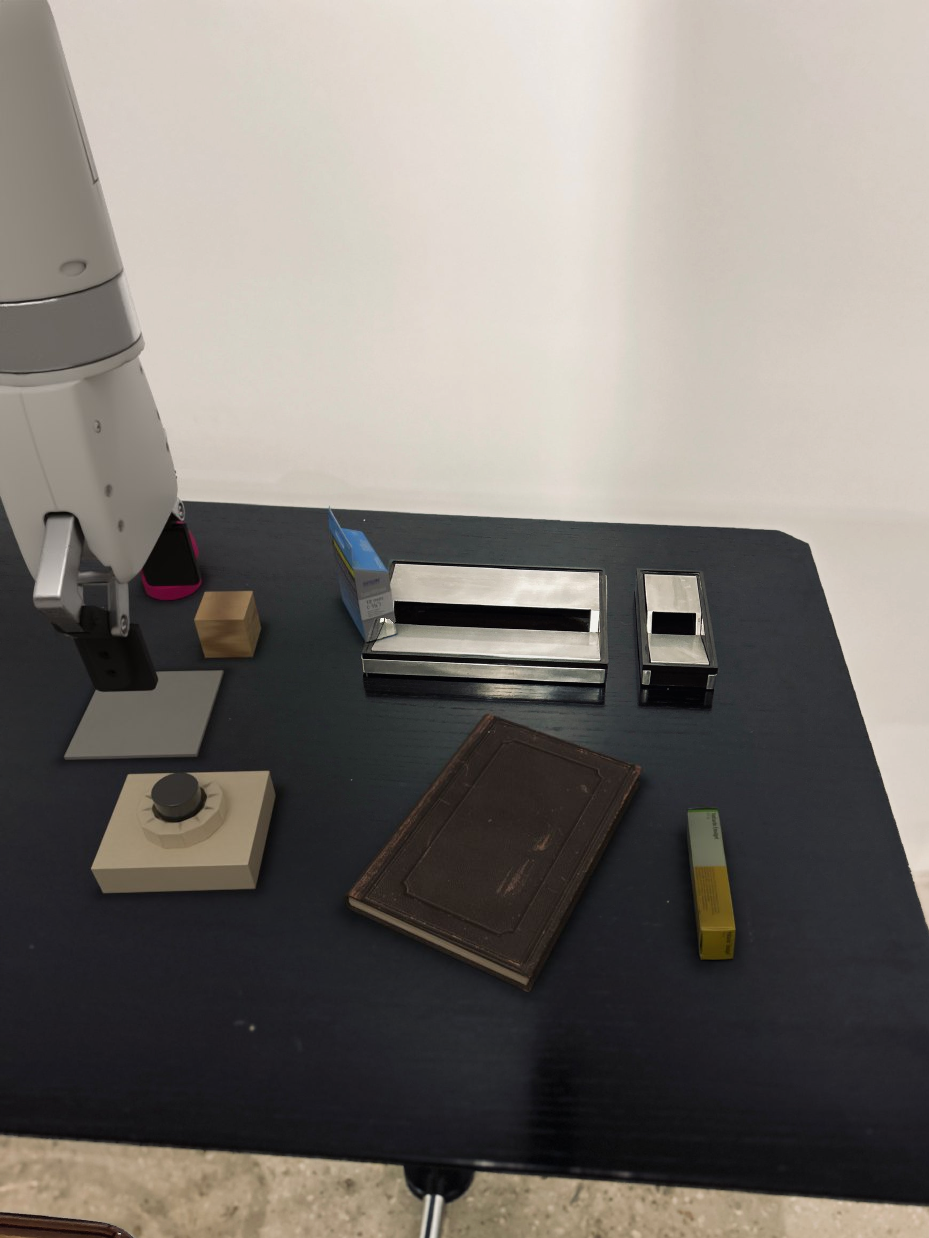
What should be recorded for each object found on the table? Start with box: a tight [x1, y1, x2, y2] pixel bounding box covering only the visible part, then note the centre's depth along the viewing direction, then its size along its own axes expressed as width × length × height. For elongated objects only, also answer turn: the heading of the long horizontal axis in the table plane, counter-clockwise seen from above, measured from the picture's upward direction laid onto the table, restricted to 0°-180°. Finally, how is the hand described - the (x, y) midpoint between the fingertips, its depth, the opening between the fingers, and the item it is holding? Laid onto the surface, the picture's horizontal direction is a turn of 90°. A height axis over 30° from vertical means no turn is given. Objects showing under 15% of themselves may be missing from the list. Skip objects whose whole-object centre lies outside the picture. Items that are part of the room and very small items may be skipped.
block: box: [193, 590, 262, 659], centre depth 92 cm, size 5×5×5 cm
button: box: [151, 772, 204, 823], centre depth 70 cm, size 4×4×2 cm
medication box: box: [686, 806, 736, 961], centre depth 69 cm, size 12×3×4 cm, turn 177°
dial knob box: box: [90, 770, 277, 894], centre depth 72 cm, size 12×10×5 cm
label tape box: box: [328, 505, 396, 643], centre depth 93 cm, size 9×4×12 cm, turn 25°
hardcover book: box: [344, 713, 643, 994], centre depth 73 cm, size 16×23×2 cm
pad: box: [63, 669, 225, 761], centre depth 85 cm, size 12×12×1 cm
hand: (153, 631), depth 50 cm, fingers open, 9 cm apart
